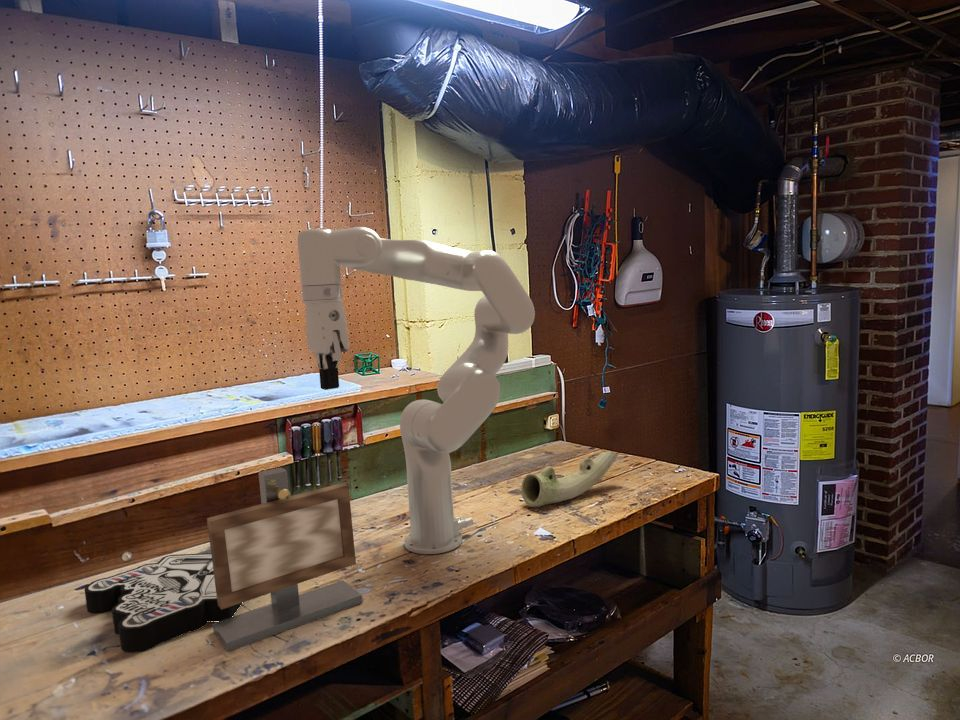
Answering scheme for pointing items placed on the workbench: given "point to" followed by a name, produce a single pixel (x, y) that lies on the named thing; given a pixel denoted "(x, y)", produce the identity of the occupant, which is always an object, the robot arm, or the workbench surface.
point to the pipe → (565, 481)
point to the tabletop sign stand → (283, 592)
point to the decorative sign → (159, 600)
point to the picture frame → (280, 543)
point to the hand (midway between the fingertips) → (330, 388)
